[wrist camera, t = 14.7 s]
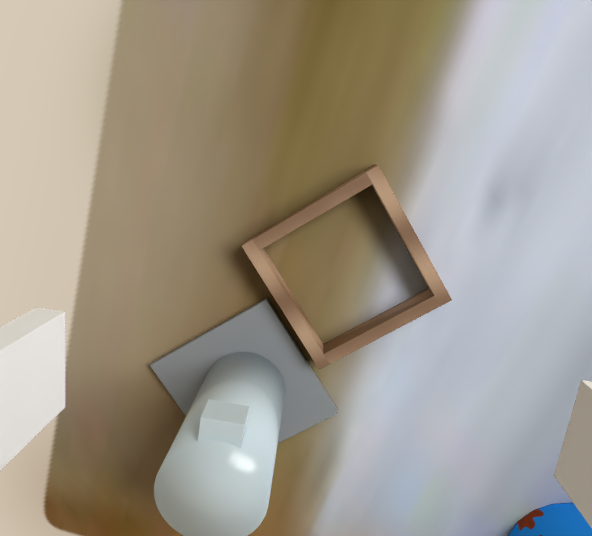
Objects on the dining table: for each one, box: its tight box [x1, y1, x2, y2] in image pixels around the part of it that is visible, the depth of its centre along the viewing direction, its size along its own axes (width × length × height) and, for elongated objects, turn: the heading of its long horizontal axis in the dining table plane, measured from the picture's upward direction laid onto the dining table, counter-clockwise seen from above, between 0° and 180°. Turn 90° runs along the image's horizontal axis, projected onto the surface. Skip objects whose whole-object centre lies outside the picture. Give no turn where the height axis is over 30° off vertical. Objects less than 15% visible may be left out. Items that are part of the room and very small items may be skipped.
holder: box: [242, 165, 452, 369], centre depth 37 cm, size 12×12×2 cm
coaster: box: [150, 298, 338, 443], centre depth 41 cm, size 12×12×1 cm
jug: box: [154, 352, 285, 536], centre depth 35 cm, size 13×7×13 cm, turn 171°
